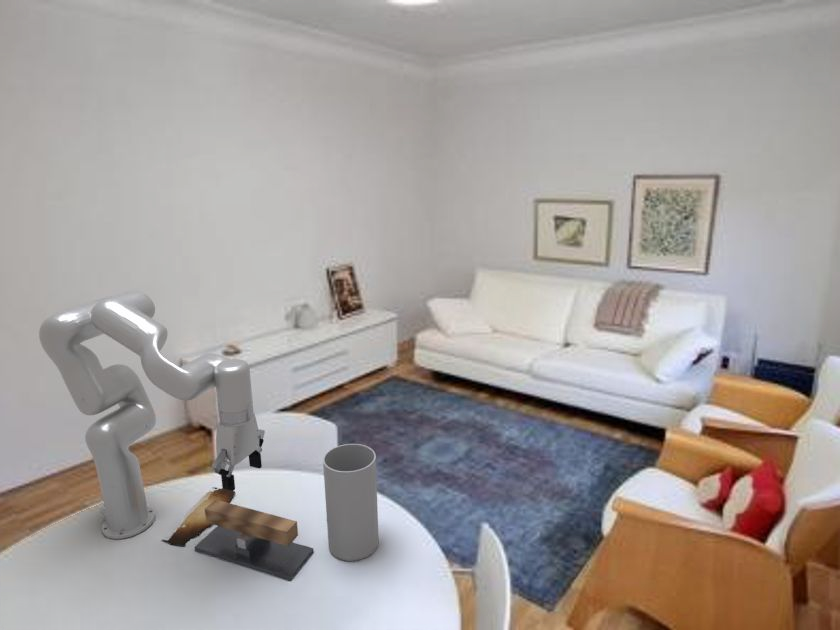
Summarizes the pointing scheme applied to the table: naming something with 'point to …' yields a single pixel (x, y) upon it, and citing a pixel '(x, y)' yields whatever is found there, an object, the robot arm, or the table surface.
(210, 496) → the parchment
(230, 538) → the stand
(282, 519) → the walnut bar
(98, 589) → the table surface
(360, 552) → the cylinder vase
